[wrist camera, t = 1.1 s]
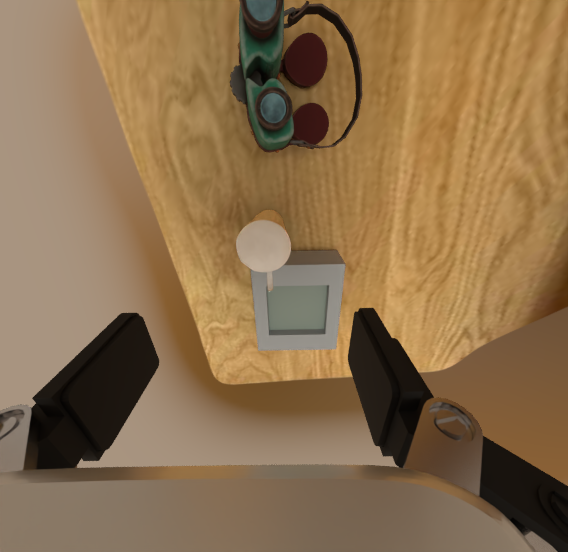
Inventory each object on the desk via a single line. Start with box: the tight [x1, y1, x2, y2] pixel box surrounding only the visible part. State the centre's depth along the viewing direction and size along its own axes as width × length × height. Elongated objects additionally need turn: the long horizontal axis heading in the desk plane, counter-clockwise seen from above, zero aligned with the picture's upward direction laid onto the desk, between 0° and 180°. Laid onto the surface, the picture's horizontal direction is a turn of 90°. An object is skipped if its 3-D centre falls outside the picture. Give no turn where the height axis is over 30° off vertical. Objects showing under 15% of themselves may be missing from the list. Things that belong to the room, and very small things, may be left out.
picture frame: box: [251, 250, 345, 351], centre depth 29 cm, size 12×10×4 cm
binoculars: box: [230, 0, 362, 152], centre depth 17 cm, size 9×11×10 cm
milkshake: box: [236, 209, 291, 291], centre depth 22 cm, size 4×5×10 cm
